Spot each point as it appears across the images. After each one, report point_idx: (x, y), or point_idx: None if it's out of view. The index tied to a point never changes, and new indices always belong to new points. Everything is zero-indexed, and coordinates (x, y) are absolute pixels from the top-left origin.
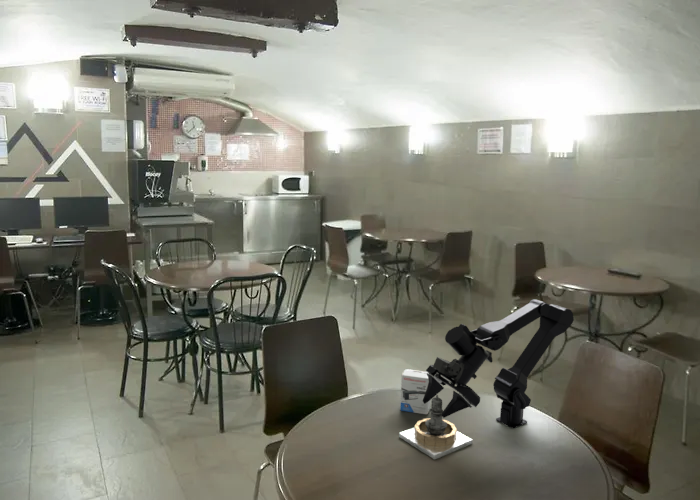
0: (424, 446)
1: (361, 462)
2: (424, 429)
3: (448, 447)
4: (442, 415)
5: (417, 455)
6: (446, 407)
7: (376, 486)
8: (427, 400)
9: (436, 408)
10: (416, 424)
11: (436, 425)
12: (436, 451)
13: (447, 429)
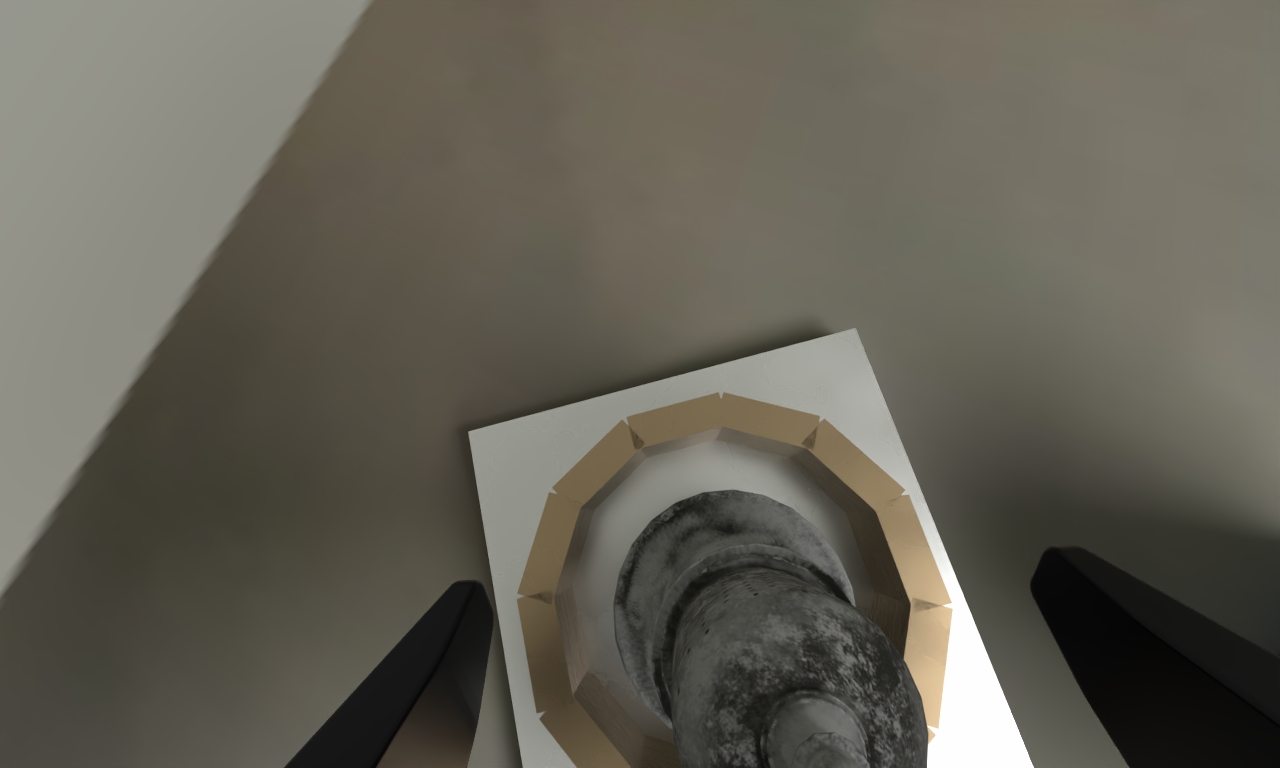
0: (600, 418)
1: (624, 46)
2: (859, 555)
3: (518, 597)
4: (453, 591)
5: (572, 355)
6: (380, 725)
7: (401, 51)
8: (1079, 647)
9: (688, 618)
10: (842, 445)
11: (659, 575)
12: (504, 470)
13: None
